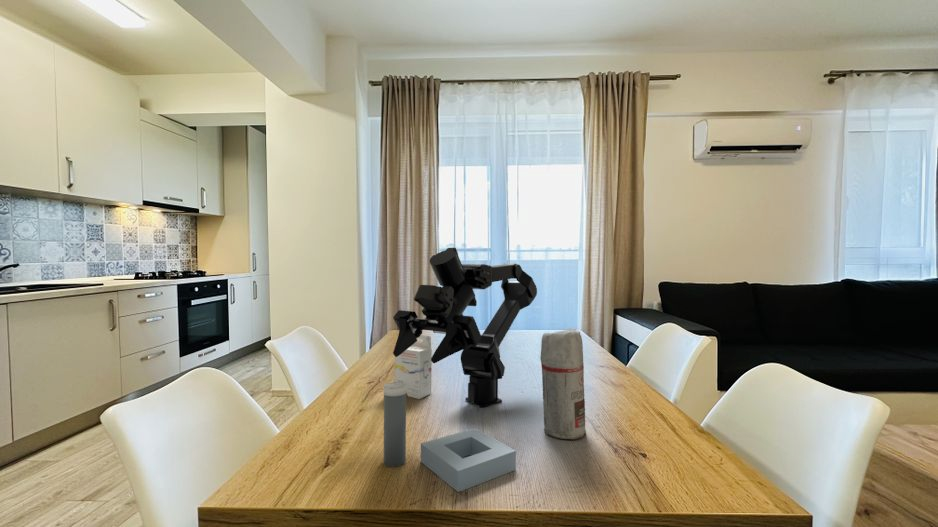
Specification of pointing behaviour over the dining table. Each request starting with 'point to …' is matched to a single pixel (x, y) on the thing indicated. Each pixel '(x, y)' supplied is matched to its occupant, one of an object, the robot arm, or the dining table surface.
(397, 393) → the peg
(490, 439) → the socket
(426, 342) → the ink cartridge box
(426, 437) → the dining table surface
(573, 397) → the spray can
